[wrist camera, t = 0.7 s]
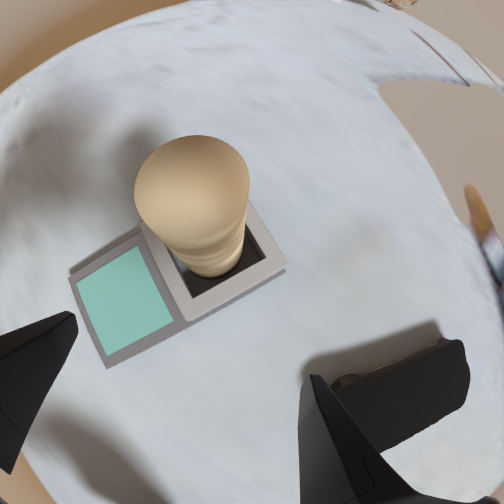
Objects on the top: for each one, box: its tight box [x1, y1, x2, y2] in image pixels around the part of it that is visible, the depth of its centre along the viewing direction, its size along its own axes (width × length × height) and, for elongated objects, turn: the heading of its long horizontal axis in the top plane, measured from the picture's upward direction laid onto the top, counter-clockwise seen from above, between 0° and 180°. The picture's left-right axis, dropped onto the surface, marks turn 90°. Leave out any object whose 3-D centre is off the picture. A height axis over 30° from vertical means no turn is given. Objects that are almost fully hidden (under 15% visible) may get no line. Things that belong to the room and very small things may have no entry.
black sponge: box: [330, 338, 470, 454], centre depth 20 cm, size 16×8×4 cm, turn 100°
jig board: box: [68, 199, 289, 369], centre depth 21 cm, size 18×9×4 cm, turn 120°
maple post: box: [134, 135, 250, 280], centre depth 17 cm, size 5×5×12 cm
